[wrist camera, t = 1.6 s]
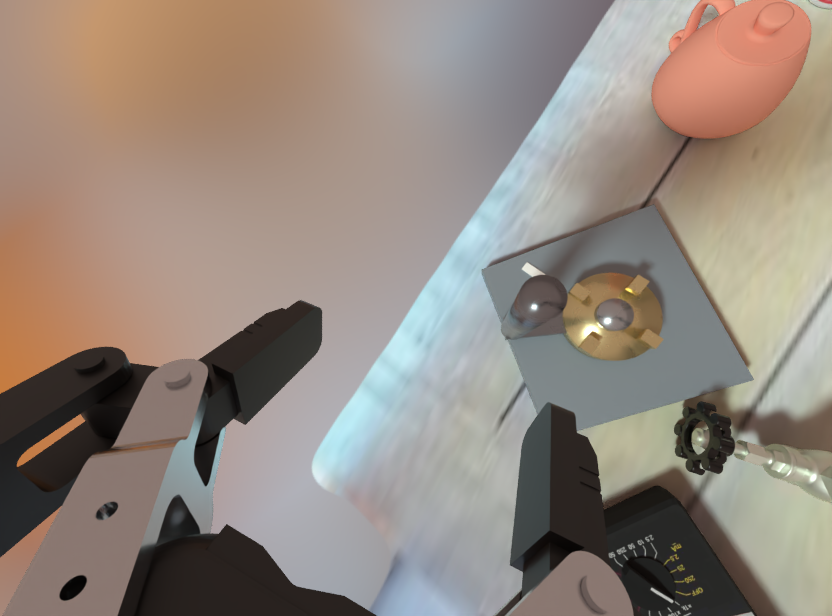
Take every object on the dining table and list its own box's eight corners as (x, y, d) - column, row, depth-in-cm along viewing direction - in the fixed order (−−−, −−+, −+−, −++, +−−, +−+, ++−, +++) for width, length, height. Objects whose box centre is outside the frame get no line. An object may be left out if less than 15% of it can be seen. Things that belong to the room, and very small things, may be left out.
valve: (822, 437, 30) (680, 397, 33) (915, 458, 23) (728, 406, 26) (812, 507, 29) (667, 459, 32) (904, 548, 23) (713, 484, 26)
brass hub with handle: (640, 271, 33) (815, 174, 16) (661, 356, 31) (881, 350, 14) (495, 291, 36) (507, 227, 19) (506, 369, 34) (532, 379, 17)
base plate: (644, 212, 36) (655, 203, 34) (737, 378, 32) (755, 379, 30) (481, 274, 39) (481, 268, 37) (545, 434, 35) (549, 439, 32)
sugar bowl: (680, 169, 36) (754, 98, 26) (613, 85, 40) (657, -7, 30) (787, 115, 35) (908, 19, 25) (709, 33, 38) (788, -81, 28)
